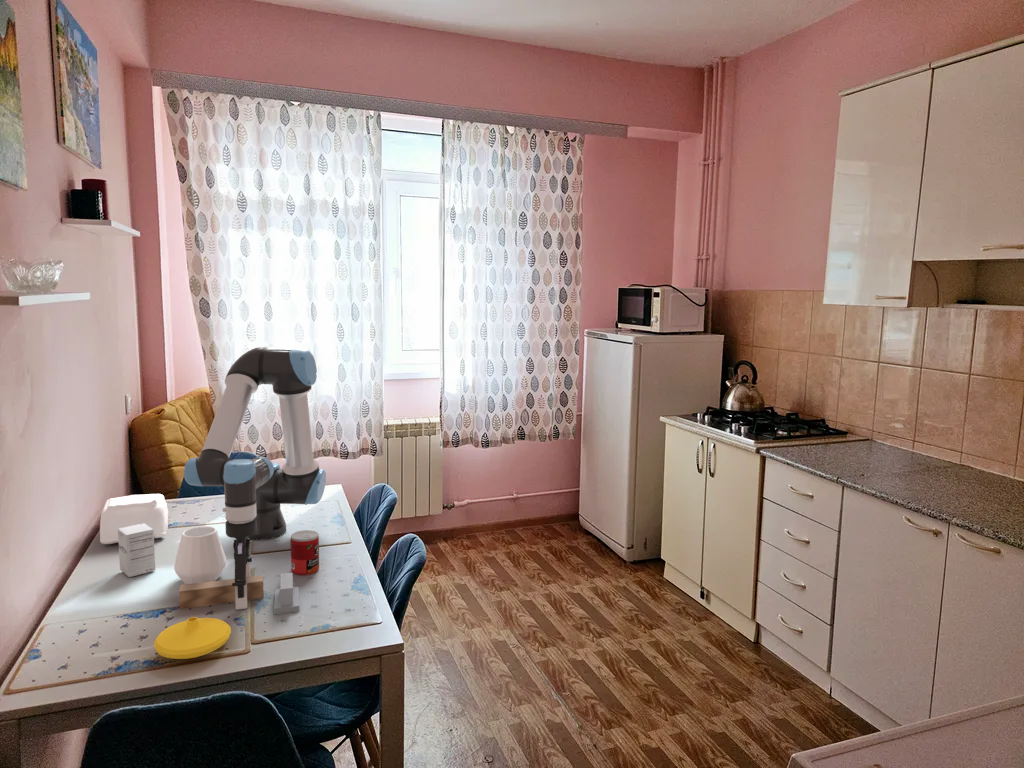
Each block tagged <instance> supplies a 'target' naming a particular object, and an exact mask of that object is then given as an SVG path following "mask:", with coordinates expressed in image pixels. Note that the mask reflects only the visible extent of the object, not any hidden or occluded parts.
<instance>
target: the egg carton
mask: <svg viewBox="0 0 1024 768" xmlns="http://www.w3.org/2000/svg"><path fill="white" fill-rule="evenodd" d="M168 516H169V508H168V504H167V502H166V499H165V496H164V495H163V494H161V493H149V494H148V493H147V494H146V493H145V494H130V495H124V496H119V497H113V498H112V497H111V498H109V499H107V500H106V501H105V503H104V506H103V509H102V511H101V513H100V521H99V522H100V523H99V541H100V543H101V545H102V544H103V545H112V544H119V540H118V529H119V528H124V527H128V526H133V525H137V524H143V523H145V524H146V525H147V526H149V527H151V528H152V529H153V531H154V539H160V538H164V537H166V536H167V530H169V526H168V524H169V517H168Z"/></svg>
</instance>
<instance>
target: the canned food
mask: <svg viewBox="0 0 1024 768" xmlns="http://www.w3.org/2000/svg"><path fill="white" fill-rule="evenodd" d="M319 535H320V534H319V533H318V531H315V530H298V531H296V532H293V533H291V534H290V569H291V573H293V575H297V576H309V575H312V574H315V573H317V572H318V571H319V569H320V539H319V537H320V536H319Z"/></svg>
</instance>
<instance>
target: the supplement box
mask: <svg viewBox="0 0 1024 768" xmlns="http://www.w3.org/2000/svg"><path fill="white" fill-rule="evenodd" d="M118 540H119V543H118V555H119V557H118V558H119V570H120V571H121V572H123V573H124V574H125V576H127V577H128V578H131V577H135V576H140V575H144V574H148V573H152V572H155V571H156V558H155V557H156V556H155V555H156V554H155V538H154V531H153V529H152V528H151V527H149V526H147V525H146V524H145V523H143V524H137V525H133V526H128V527H124V528H119V529H118Z"/></svg>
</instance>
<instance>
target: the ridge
mask: <svg viewBox="0 0 1024 768" xmlns="http://www.w3.org/2000/svg"><path fill="white" fill-rule="evenodd" d="M293 575H294V574H293V573H292V572H286V573H280V584H279V585H280V588H275V589H274V606H273V607H274V608H273V609H274V610H273V611H274V614H273V615H279V614H282V615H283V614H289V613H296V612H300V587H299V586H297V585H296V586H294V581H293V580H294V579H293V578H294V577H293Z"/></svg>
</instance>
